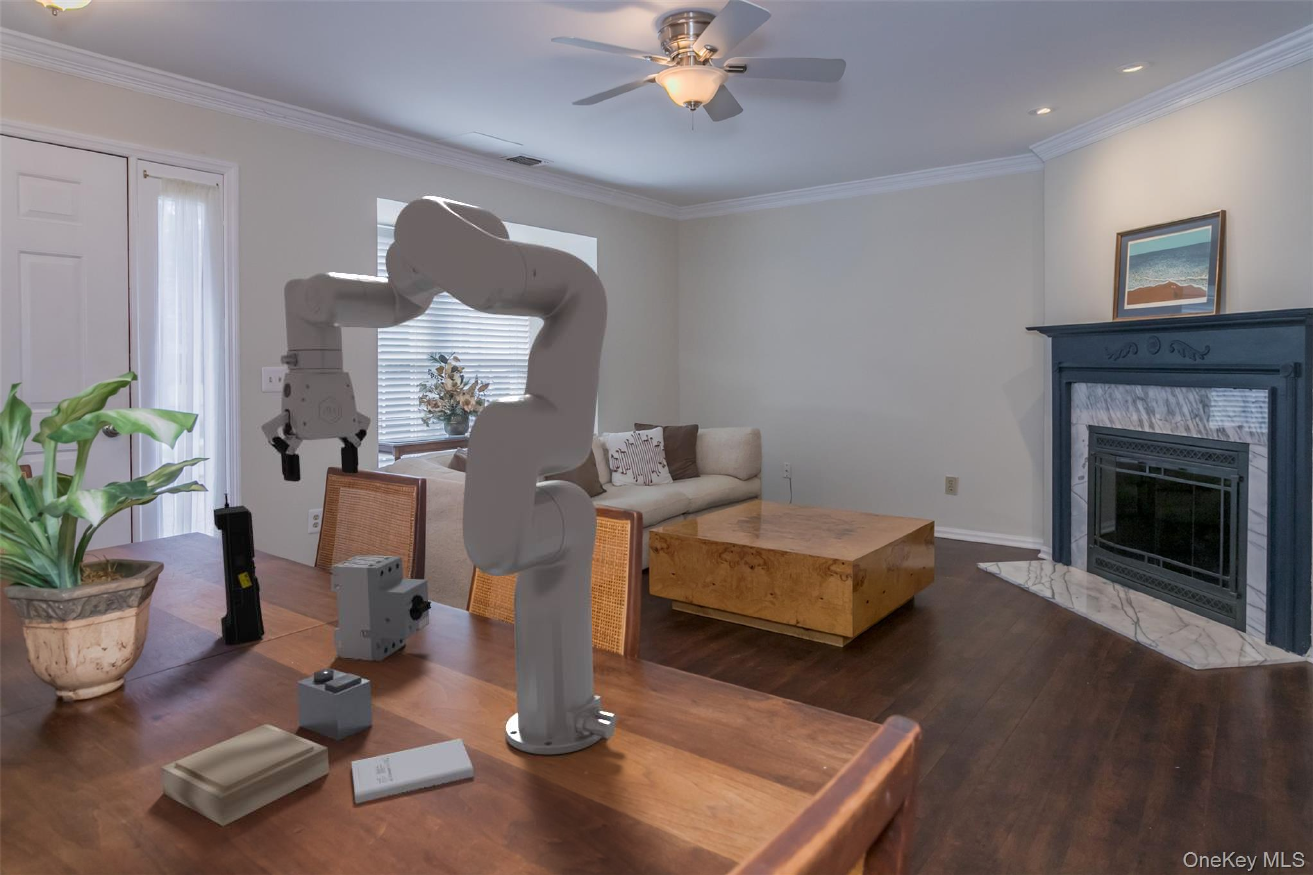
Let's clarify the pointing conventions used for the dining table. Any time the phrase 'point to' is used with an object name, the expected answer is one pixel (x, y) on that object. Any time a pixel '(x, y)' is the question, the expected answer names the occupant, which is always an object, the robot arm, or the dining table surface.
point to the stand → (244, 773)
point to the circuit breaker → (376, 606)
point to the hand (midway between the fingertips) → (322, 476)
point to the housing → (334, 703)
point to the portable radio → (239, 575)
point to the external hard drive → (410, 770)
